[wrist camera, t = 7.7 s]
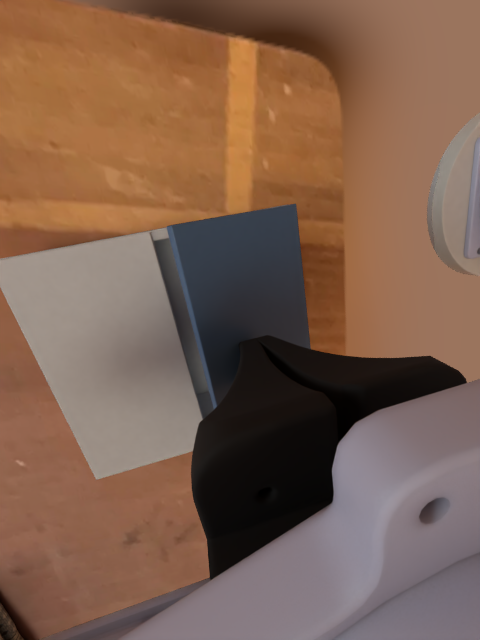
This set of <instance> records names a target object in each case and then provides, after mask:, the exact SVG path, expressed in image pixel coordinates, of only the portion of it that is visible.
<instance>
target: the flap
mask: <svg viewBox="0 0 480 640" xmlns="http://www.w3.org/2000/svg"><path fill="white" fill-rule="evenodd" d="M167 231H168V235H169V239H170V243H171V247H172V251H173V254H174V258H175V262H176V266H177V270H178V274H179V277H180V281H181V285H182V289H183V293H184V297H185V301H186V304H187V308H188V312H189V316H190V320H191V324H192V327H193V331H194V335H195V339H196V343H197V347H198V350H199V354H200V358H201V362H202V366H203V370H204V373H205V377H206V381H207V385H208V389H209V393H210V396H211V400H212V404H213V408H214V409H215V408H216V407H217V406H218V405H219V404H220V403H221V401H222V400H223V399H224V397H225V396H226V394H227V393H228V391H229V389H230V387H231V385H232V383H233V381H234V379H235V376H236V373H237V370H238V366H239V362H240V350H239V343H240V342H242V341H246V340H250V339H254V338H258V337H262V336H265V335H270V336H273V337H276V338H279V339H281V340H284V341H287V342H289V343H292V344H295V345H298V346H301V347H304V348H308V349H311V348H310V338H309V328H308V318H307V308H306V298H305V288H304V278H303V268H302V258H301V248H300V238H299V228H298V218H297V208H296V204H291V205H285V206H279V207H274V208H268V209H262V210H256V211H251V212H245V213H239V214H233V215H227V216H222V217H216V218H210V219H204V220H199V221H193V222H187V223H181V224H175V225H170V226H167Z"/></svg>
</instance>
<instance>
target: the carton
mask: <svg viewBox="0 0 480 640" xmlns="http://www.w3.org/2000/svg"><path fill="white" fill-rule="evenodd" d="M287 205H288V204H287ZM282 206H285V205H282ZM277 207H279V206H277ZM272 208H274V207H272ZM266 209H268V208H266ZM261 210H262V209H261ZM0 288H1V290H2V292H3V294H4V296H5V298H6V300H7V302H8V304H9V306H10V308H11V310H12V312H13V314H14V316H15V318H16V320H17V322H18V324H19V326H20V328H21V330H22V332H23V334H24V336H25V338H26V340H27V342H28V344H29V346H30V348H31V350H32V352H33V354H34V356H35V358H36V360H37V362H38V364H39V366H40V368H41V370H42V372H43V374H44V376H45V378H46V380H47V382H48V384H49V386H50V388H51V390H52V392H53V394H54V396H55V398H56V400H57V402H58V404H59V406H60V408H61V410H62V412H63V414H64V416H65V418H66V420H67V422H68V424H69V426H70V428H71V430H72V432H73V434H74V436H75V438H76V440H77V442H78V444H79V446H80V448H81V450H82V452H83V454H84V456H85V458H86V460H87V462H88V464H89V466H90V468H91V470H92V472H93V474H94V476H95V478H96V480H97V479H101V478H104V477H108V476H111V475H114V474H118V473H121V472H124V471H128V470H131V469H134V468H138V467H141V466H145V465H148V464H151V463H155V462H158V461H161V460H165V459H168V458H171V457H175V456H178V455H181V454H185V453H188V452H192V451H193V448H194V443H195V437H196V433H197V429H198V425H199V423H200V421H202V420H203V419H204V418H205V417H206V416H207V415H209V414H210V413H211V412H212V411H213V410H214V408H213V404H212V400H211V396H210V393H209V389H208V385H207V381H206V377H205V373H204V370H203V366H202V362H201V358H200V354H199V350H198V347H197V343H196V339H195V335H194V331H193V327H192V324H191V320H190V316H189V312H188V308H187V304H186V301H185V297H184V293H183V289H182V285H181V281H180V277H179V274H178V270H177V266H176V262H175V258H174V254H173V251H172V247H171V243H170V239H169V235H168V231H167V227H166V228H161V229H155V230H150V231H145V232H140V233H134V234H129V235H124V236H119V237H113V238H108V239H103V240H97V241H92V242H87V243H82V244H76V245H71V246H66V247H60V248H55V249H50V250H45V251H39V252H34V253H29V254H23V255H18V256H13V257H8V258H2V259H0Z"/></svg>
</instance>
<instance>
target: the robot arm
mask: <svg viewBox="0 0 480 640" xmlns="http://www.w3.org/2000/svg"><path fill="white" fill-rule="evenodd" d="M464 257H465V258H467V259H474V258H479V257H480V137H479V138H478V139H477V141H476V143H475V150H474V159H473V169H472V178H471V188H470V198H469V207H468V217H467V226H466V236H465V246H464ZM239 350H240V362H239V366H238V370H237V373H236V376H235V379H234V381H233V383H232V385H231V387H230V389H229V391H228V393H227V394H226V396H225V397H224V399H223V400H222V401H221V403H220V404H219V405H218V406H217V407H216V408H215V409H214V410H213V411H212V412H211V413H210V414H209V415H207V416H206V417H205V418H204V419H203V420H202V421H200V423H199V425H198V429H197V433H196V437H195V443H194V448H193V455H192V465H191V478H192V492H193V499H194V503H195V506H196V508H197V511H198V514H199V517H200V520H201V523H202V526H203V529H204V532H205V535H206V538H207V545H208V558H209V571H210V578H208V579H205V580H202V581H199V582H196V583H194V584H191V585H188V586H185V587H183V588H180V589H177V590H174V591H172V592H169V593H166V594H163V595H161V596H158V597H155V598H152V599H150V600H147V601H144V602H141V603H138V604H136V605H133V606H130V607H127V608H125V609H122V610H119V611H116V612H114V613H111V614H108V615H105V616H103V617H100V618H97V619H94V620H92V621H89V622H86V623H83V624H81V625H78V626H75V627H72V628H69V629H67V630H64V631H61V632H58V633H56V634H53V635H50V636H47V637H45V638H42V639H39V640H480V379H478V380H475V381H472V382H469V383H467V382H466V379H465V378H464V376H463V375H462V374H461V373H460V372H459V371H458V370H456V369H454V368H452V367H450V366H448V365H447V364H445V363H443V362H441V361H439V360H437V359H435V358H433V357H431V356H421V357H405V358H361V357H351V356H342V355H335V354H330V353H324V352H319V351H315V350H312V349H308V348H304V347H301V346H298V345H295V344H292V343H289V342H287V341H284V340H281V339H279V338H276V337H273V336H270V335H265V336H262V337H258V338H254V339H250V340H246V341H242V342H240V343H239Z"/></svg>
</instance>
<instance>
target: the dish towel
mask: <svg viewBox="0 0 480 640" xmlns="http://www.w3.org/2000/svg"><path fill="white" fill-rule="evenodd" d="M0 640H24V639H23V638H22V636H21V635H20V634H19V632H18V631H17V629H16V627H15V624H14V622H13V621H12V619H11V618H10V616H9V615H8V613H7V612H6V610H5V609H4V607H3V606H2V604H1V603H0Z"/></svg>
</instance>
